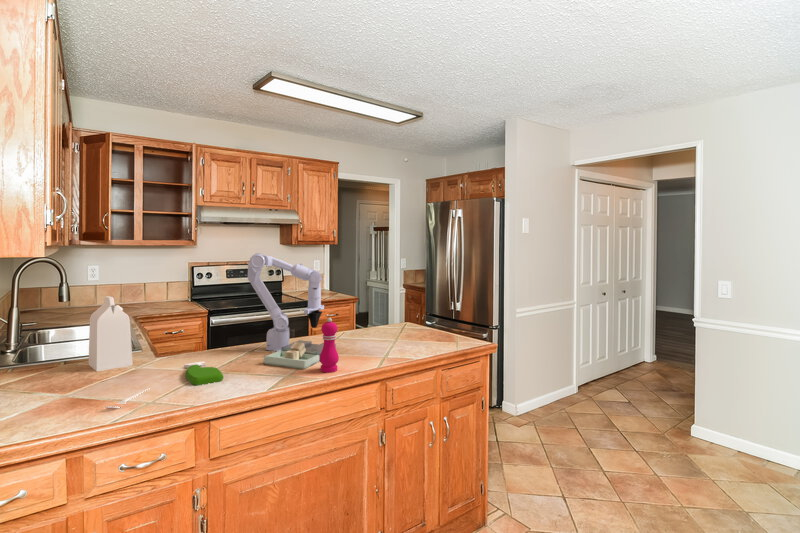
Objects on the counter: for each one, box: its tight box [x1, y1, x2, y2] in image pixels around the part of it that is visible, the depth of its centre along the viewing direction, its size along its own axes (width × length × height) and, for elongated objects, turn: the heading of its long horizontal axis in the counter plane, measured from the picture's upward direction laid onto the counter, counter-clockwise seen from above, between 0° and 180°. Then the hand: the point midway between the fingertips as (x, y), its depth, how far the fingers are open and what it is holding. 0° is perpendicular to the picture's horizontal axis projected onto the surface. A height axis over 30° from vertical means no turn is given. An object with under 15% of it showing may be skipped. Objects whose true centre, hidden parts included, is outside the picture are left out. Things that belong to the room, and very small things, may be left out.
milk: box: [88, 295, 134, 372], centre depth 166 cm, size 12×12×26 cm
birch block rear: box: [291, 341, 306, 357], centre depth 178 cm, size 4×4×4 cm
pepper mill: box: [319, 317, 340, 374], centre depth 165 cm, size 7×7×20 cm
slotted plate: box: [281, 339, 337, 358], centre depth 186 cm, size 18×14×4 cm
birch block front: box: [285, 350, 299, 360], centre depth 174 cm, size 4×4×4 cm
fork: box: [104, 387, 150, 409], centre depth 133 cm, size 3×20×2 cm, turn 178°
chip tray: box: [263, 350, 320, 370], centre depth 174 cm, size 18×11×3 cm, turn 71°
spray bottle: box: [183, 361, 224, 386], centre depth 158 cm, size 3×11×24 cm
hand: (314, 327), depth 198 cm, fingers closed
